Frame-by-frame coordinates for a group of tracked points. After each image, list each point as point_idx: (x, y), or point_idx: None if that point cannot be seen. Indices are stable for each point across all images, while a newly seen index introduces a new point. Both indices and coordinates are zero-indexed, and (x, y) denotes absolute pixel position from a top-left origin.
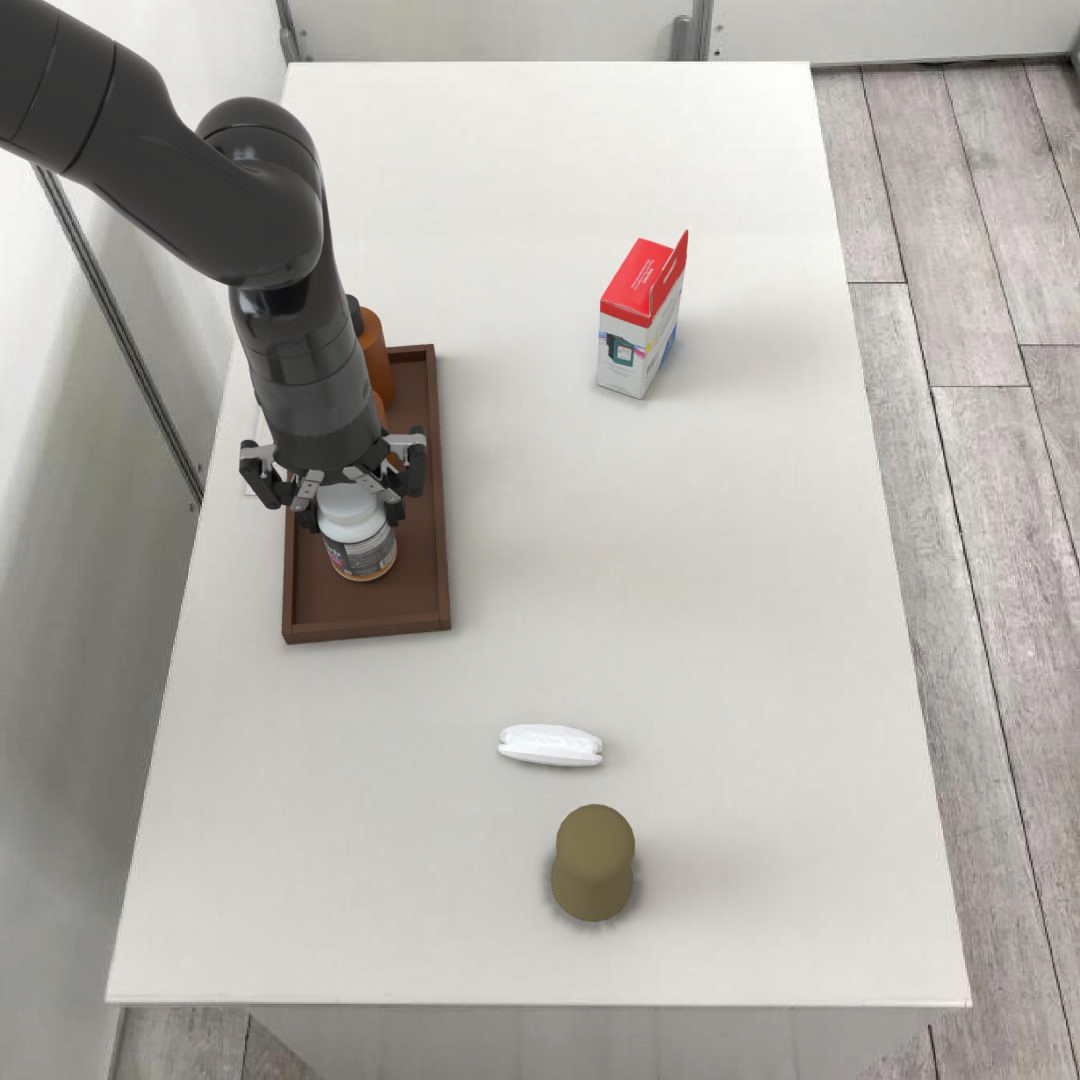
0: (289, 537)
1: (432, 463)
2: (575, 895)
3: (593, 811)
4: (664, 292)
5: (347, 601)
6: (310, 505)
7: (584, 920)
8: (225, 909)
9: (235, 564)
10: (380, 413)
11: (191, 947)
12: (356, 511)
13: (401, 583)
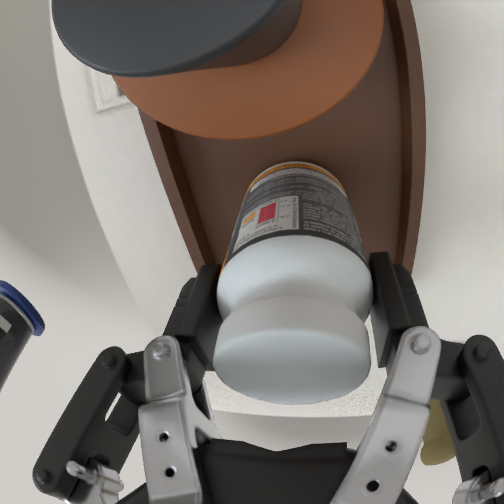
0: (175, 200)
1: (406, 47)
2: None
3: (446, 458)
4: None
5: None
6: (209, 364)
7: None
8: (237, 399)
9: (127, 209)
10: (375, 18)
11: (226, 404)
12: (318, 401)
13: None
